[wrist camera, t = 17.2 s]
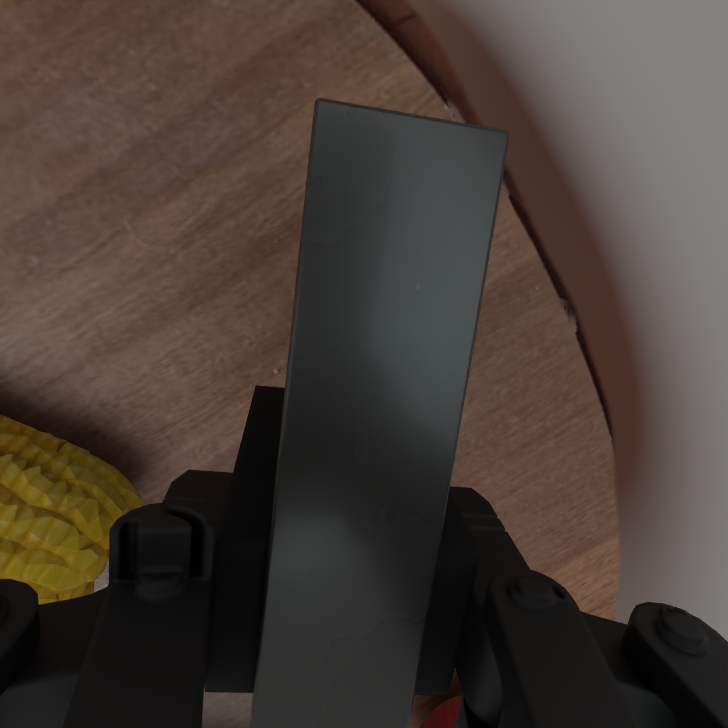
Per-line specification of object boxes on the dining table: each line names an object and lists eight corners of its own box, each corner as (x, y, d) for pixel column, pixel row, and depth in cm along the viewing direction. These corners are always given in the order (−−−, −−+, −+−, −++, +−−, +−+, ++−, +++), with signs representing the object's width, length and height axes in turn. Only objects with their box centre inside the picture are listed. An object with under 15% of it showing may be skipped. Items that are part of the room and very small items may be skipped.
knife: (306, 178, 13) (316, 95, 6) (402, 193, 13) (512, 130, 6) (230, 912, 17) (185, 1343, 10) (304, 909, 18) (307, 1324, 11)
